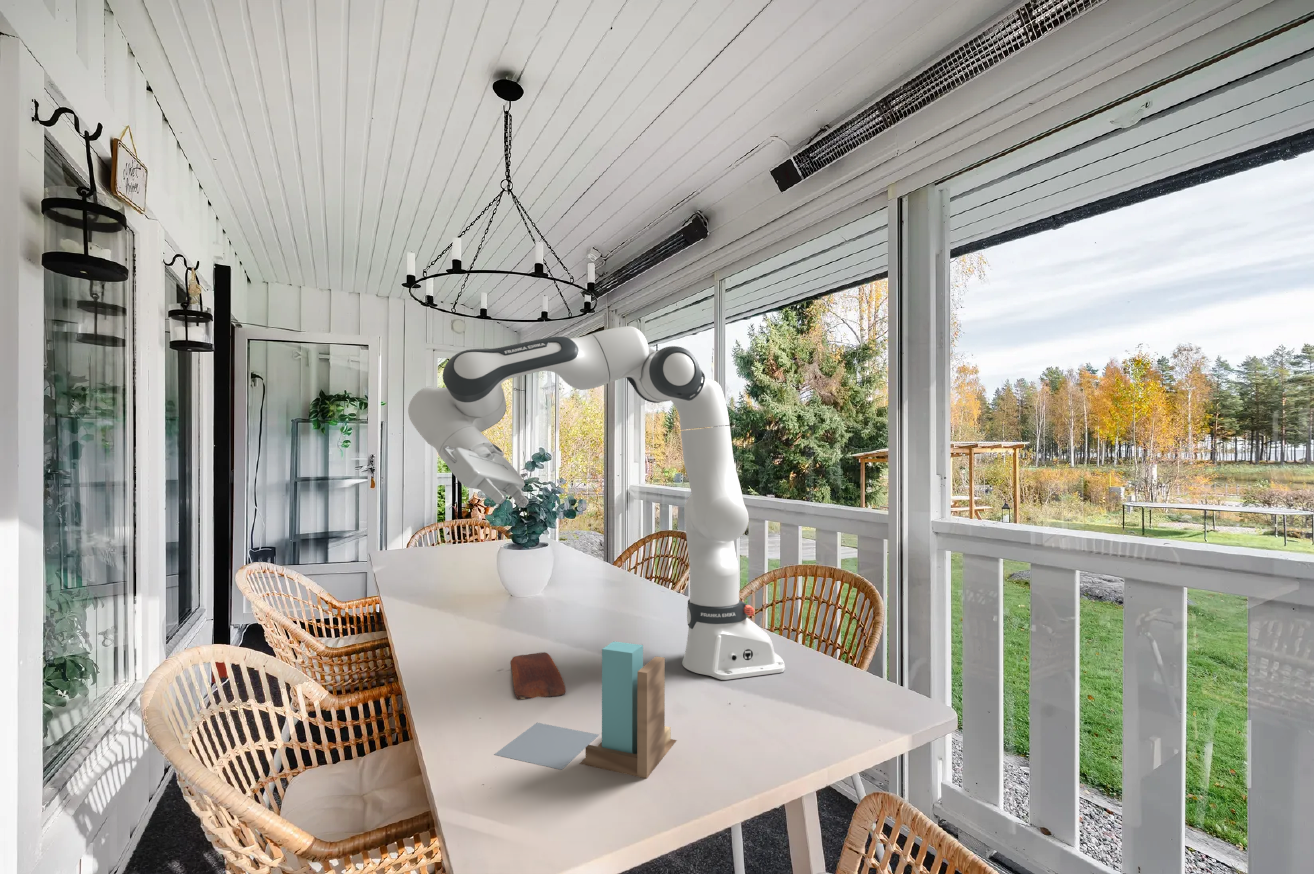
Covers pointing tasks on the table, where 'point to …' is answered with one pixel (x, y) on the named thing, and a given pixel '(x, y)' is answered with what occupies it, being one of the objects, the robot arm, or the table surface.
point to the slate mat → (547, 745)
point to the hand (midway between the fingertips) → (514, 503)
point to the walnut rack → (640, 728)
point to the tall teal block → (620, 695)
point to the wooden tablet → (536, 676)
